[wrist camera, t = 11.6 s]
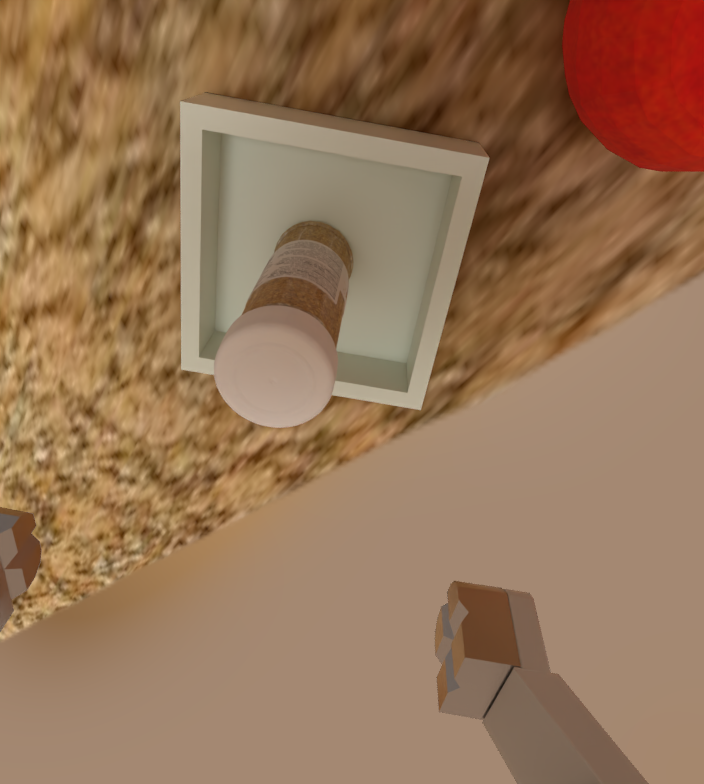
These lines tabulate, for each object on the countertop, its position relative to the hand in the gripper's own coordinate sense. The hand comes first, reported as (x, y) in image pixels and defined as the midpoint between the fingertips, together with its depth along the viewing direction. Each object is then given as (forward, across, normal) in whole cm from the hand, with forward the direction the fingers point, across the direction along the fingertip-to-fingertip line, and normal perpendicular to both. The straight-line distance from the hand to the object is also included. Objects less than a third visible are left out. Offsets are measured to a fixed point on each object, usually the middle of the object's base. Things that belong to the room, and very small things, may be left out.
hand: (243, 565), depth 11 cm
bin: (+24, +1, +2) cm, 24 cm away
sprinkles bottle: (+24, +1, +3) cm, 24 cm away
